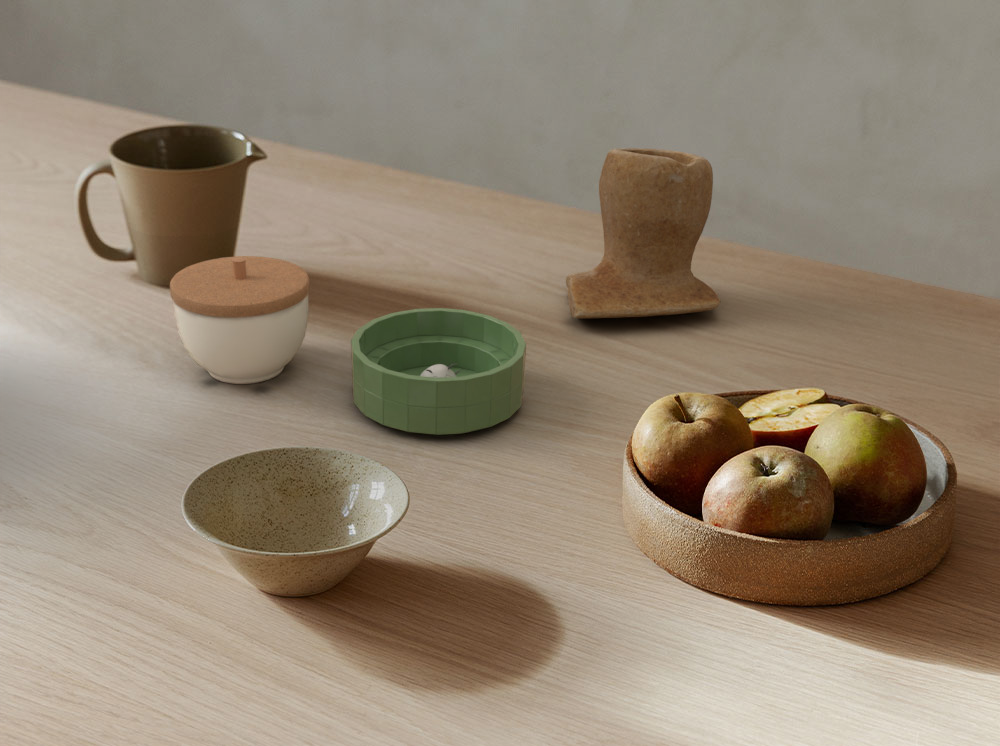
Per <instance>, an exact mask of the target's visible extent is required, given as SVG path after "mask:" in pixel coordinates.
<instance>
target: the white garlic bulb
mask: <svg viewBox="0 0 1000 746" xmlns="http://www.w3.org/2000/svg"><path fill="white" fill-rule="evenodd" d="M453 365H456V364H452V365H450V366H449V367H447V366H445V365H442V364H436V365H432V366H430V367H429V368H427V369H426V370H425V371H423V372H422V374H421V375H420V376H426V377H437V378H439V377H457V376H456V374H457V373H459V372H460V371H457V372H456V373H454V372H453V371H452V370H451V369H450V368H451V367H452V366H453Z"/></svg>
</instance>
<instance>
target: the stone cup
mask: <svg viewBox="0 0 1000 746" xmlns="http://www.w3.org/2000/svg"><path fill="white" fill-rule="evenodd" d="M600 172H601V173H600V176H599V180H598V196H599V206H600V213H601V222H602V230H603V256H602V258H601V261H600V263H599V264H598V265H597V266H595V267H594V268H593V269H591V270H587V271H582V272H577V273H571V274H568V275H567V276H566V278H565V285H566V288H567V296H566V297H567V299H568V309H569V313H570V315H571V317H572V318H573V319H620V318H643V317H655V316H671V315H681V314H690V313H701V312H707V311H712V310H715V309H717V308H718V307H719V306H720V303H721V299H720V298H719V296H718V294H717V292H716V291H715V290H714V289H713V288H712V287H711V286H709V285H708V284H707V283H705V282H704V281H703V280H701V279H699V278H698V277H696V276H694V274H693V272H692V262H693V257H694V253H695V250H696V247H697V244H698V242H699V240H700V237H701V236H702V234H703V231H704V229H705V227H706V224H707V220H708V218H709V215H710V210H711V205H712V200H713V187H714V173H713V172H714V171H713V167H712V164H711V162H710V161H709V160H708V159H707V158H705V157H703V156H699V155H697V154H693V153H690V152H689V153H687V152H683V151H677V150H670V149H659V148H658V149H657V148H638V147H637V148H636V147H635V148H634V147H633V148H632V147H626V148H611V149H610V150H609V151H608V152H607V154H606V156H605V159H604V162H603V164H602V168H601V171H600Z"/></svg>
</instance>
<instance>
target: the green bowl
mask: <svg viewBox="0 0 1000 746" xmlns="http://www.w3.org/2000/svg"><path fill="white" fill-rule="evenodd" d="M350 353H351V354H350V355H351V356H350V357H351V391H352V399H353V403H354V405H355V406H356V408H358V409H359V411H360V412H361V413H362V414H363V416H365V417H367V418H369V419H370V420H373V421H374V422H376V423H378V424H380V425H382V426H384V427H388V428H392V429H396V430H400V431H404V432H407V433H414V434H415V433H416V434H425V435H435V436H436V435H437V436H441V435H442V436H443V435H455V434H456V435H457V434H465V433H471V432H475V431H479V430H484V429H488V428H491V427H494V426H496V425H497V424H500V423H502V422H504V421H507V420H509V419H510V418H511V417H512V416H513V415H514V414H515V413H516V412H517V411H518V410H519V409H520V408H521V406H522V403H523V398H524V394H525V378H526V377H525V376H526V375H525V374H526V360H527V359H526V355H527V342H526V341H525V339H524V337H523V335H522V333H521V332H520V331H519V330H518V329H517V328H515V327H514V326H513V325H512V324H510V323H509V322H507V321H504V320H502V319H499V318H496V317H494V316H492V315H489V314H485V313H482V312H481V313H480V312H476V311H472V310H468V309H458V308H447V307H431V308H430V307H428V308H414V309H407V310H406V309H405V310H401V311H395V312H390V313H388V314H385V315H382V316H379V317H377V318H373V319H371V320H370V321H368V322H367V323H365V324H363V325H361V326H360V327H359V328H358V329H357V330H356V331H355V333H354V334H353V336H352V338H351V340H350ZM436 364H442V365H445V366H447V367H449V366H450V365H452V364H456V365H453V366H452V367H451V368H450V369H451V370H452V371H453V372H454V373H456V372H457V371H460V372H459V373H457V374H456V376H457V377H439V378H437V377H426V376H420V375H421V374H422V372H423V371H425V370H426V369H427V368H429V367H430V366H432V365H436Z"/></svg>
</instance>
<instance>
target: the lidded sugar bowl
mask: <svg viewBox="0 0 1000 746" xmlns="http://www.w3.org/2000/svg"><path fill="white" fill-rule="evenodd" d="M309 292H310V276H309V275H308V273H307V271H306V270H304V268H302V267H301V266H299V265H297V264H295V263H293V262H290V261H287V260H284V259H279V258H275V257H266V256H257V255H255V256H254V255H238V256H225V257H218V258H213V259H212V258H211V259H208V260H203V261H200V262H197V263H193V264H191V265H189V266H186V267H184V268H183V269H180V270H179V271H178V272H177V273H175V274H174V276H173V277H172V278H171V280H170V282H169V293H170V298H171V300H172V307H173V313H174V314H173V316H174V321H175V325H176V328H177V329H176V330H177V332H178V334H179V338H180V340H181V343H182V345H183V347H184V348H185V350H186V352H187V353H188V354H189V356H190V357H191V358H192V360H193V361H194V362H196V364H198V365H199V366H200V367H202V368H203V369H205V370H206V371H207V372H208V374H209V376H211V377H212V378H213V379H215V380H217V381H218V382H219V381H220V382H223V383H227V384H233V385H235V384H236V385H249V384H256V383H257V384H258V383H262V382H265V381H268V380H270V379H271V380H272V379H273V378H275V377H278V376H279V375H280V374H281V373H282V372H283V370H284V369H285V366H286V365H287V364H289V362H291V361H292V359H293V358H294V357H295V356H296V355H297V353H298V351H299V350H300V348H301V347H302V344H303V342H304V339H305V338H306V334H307V333H306V332H307V327H308V322H309V320H308V319H309V312H310V311H309V309H310V307H309V306H310V305H309V303H310V301H309Z"/></svg>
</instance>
